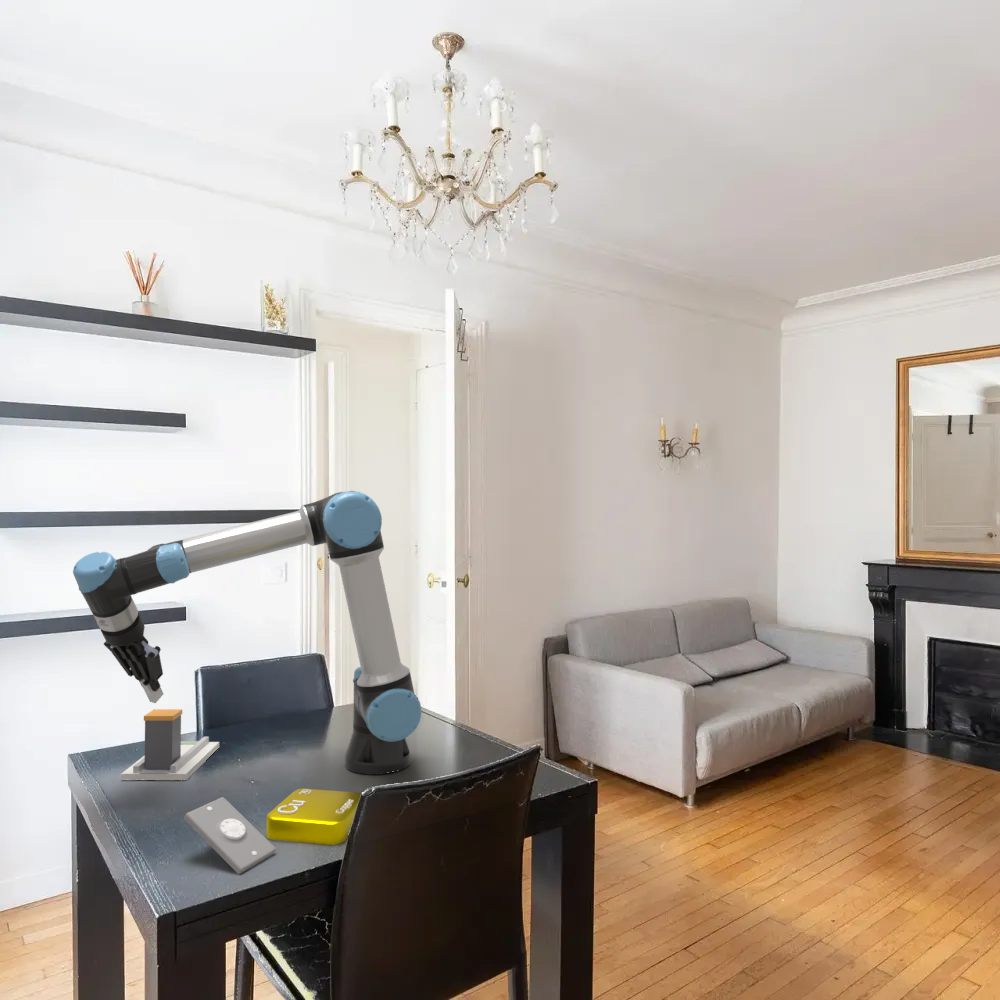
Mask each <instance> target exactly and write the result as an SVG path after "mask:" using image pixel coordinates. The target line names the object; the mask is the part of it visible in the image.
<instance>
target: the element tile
mask: <svg viewBox="0 0 1000 1000" xmlns="http://www.w3.org/2000/svg"><path fill="white" fill-rule="evenodd" d="M361 793H362V792H352V791H351V792H350V791H344V790H343V791H341V790H340V791H339V790H330V789H329V790H328V789H317V788H305V787H304V788H302V787H301V788H297V789H295V790H294V791H293V792H291V793H290V794H288V796H286V798H284V799H283V800H282V801H281V802H280V803H279V804H277V805H276V806H275V807H274V808H273V809H272V810H270V811H269V812H268V813H267V815H266V834H265V835H266V837H265V838H266V839H269V840H273V841H285V842H295V843H303V844H304V843H306V844H314V843H315V844H316V845H326V846H335V845H340V844H342V843H343V842H345V841H346V840H347V839H348V837H349V836H348V833H349V830H350V827H351V824H352V821H353V818H354V814H355V810H356V807H357V804H358V801H359V798H360V795H361ZM347 836H348V837H347Z"/></svg>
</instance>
